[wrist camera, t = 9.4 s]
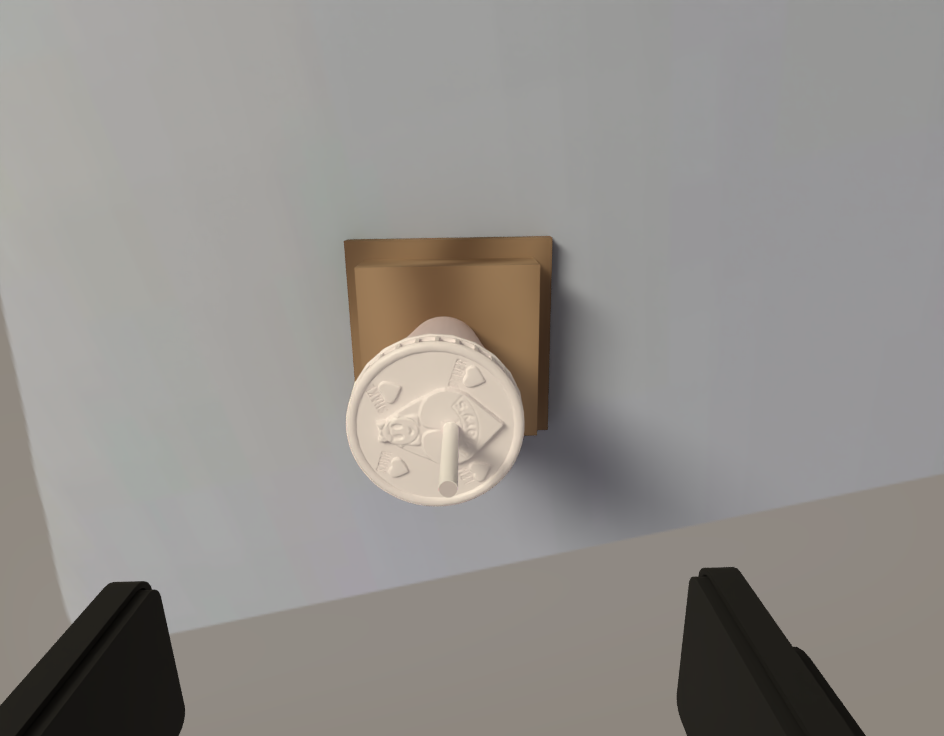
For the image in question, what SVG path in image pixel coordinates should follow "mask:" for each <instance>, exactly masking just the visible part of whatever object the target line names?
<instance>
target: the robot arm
mask: <svg viewBox="0 0 944 736" xmlns="http://www.w3.org/2000/svg"><path fill="white" fill-rule="evenodd" d="M677 706H678V711H679V715H680V718H681V721H682V723H683V726H684V728H685V731H686V734H687V736H866V735H865V734H864V733H863V731H862V730H861V729H860V727H859V726H858V724H857V723H856V721H855V720H854V719H853V717H852V716H851V715H850V713H849V712H848V710H847V709H846V708H845V706H844V705H843V703H842V702H841V701H840V699H839V698H838V697H837V695H836V694H835V692H834V691H833V689H832V688H831V687H830V685H829V684H828V683H827V681H826V680H825V678H824V677H823V676H822V674H821V673H820V672H819V670H818V669H817V667H816V666H815V664H814V663H813V662H812V660H811V659H810V658H809V657H808V656H807V654H806V653H805V652H804V651H803V650H801V649H799V648H798V647H792V645H791V644H790V642H789V641H788V639H787V638H786V637H785V635H784V634H783V633H782V631H781V630H780V628H779V627H778V625H777V624H776V623H775V621H774V619H773V618H772V617H771V615H770V614H769V612H768V611H767V610H766V608H765V607H764V605H763V604H762V602H761V601H760V599H759V598H758V597H757V595H756V594H755V592H754V591H753V590H752V588H751V587H750V585H749V584H748V582H747V581H746V580H745V578H744V577H743V575H742V574H741V572H740V571H739V570H738V569H737V568H734V567H723V568H702V569H701V570H700V572H699V576H698V577H691V579H690V581H689V589H688V598H687V606H686V616H685V624H684V634H683V643H682V652H681V661H680V670H679V679H678V688H677ZM184 717H185V705H184V701H183V696H182V692H181V687H180V683H179V678H178V673H177V669H176V665H175V659H174V655H173V650H172V646H171V642H170V636H169V632H168V627H167V623H166V618H165V613H164V609H163V604H162V600H161V596H160V593H159V592H158V591H157V590H152V588H151V586H150V585H149V583H148V582H144V581H136V582H112V583H109V584H108V585H107V586H106V587H104V588H103V590H102V591H101V592H100V593H99V594H98V595H97V596H96V598H95V599H94V600H93V601H92V602H91V603H90V604H89V606H88V607H87V608H86V609H85V610H84V611H83V612H82V613H81V615H80V616H79V617H78V618H77V619H76V620H75V621H74V623H73V624H72V625H71V626H70V627H69V628H68V629H67V630H66V632H65V633H64V634H63V635H62V636H61V637H60V638H59V640H58V641H57V642H56V643H55V644H54V645H53V646H52V647H51V649H50V650H49V651H48V652H47V653H46V654H45V655H44V657H43V658H42V659H41V660H40V661H39V662H38V663H37V665H36V666H35V667H34V668H33V669H32V670H31V671H30V672H29V674H28V675H27V676H26V677H25V678H24V679H23V680H22V682H21V683H20V684H19V685H18V686H17V687H16V688H15V690H14V691H13V692H12V693H11V694H10V695H9V696H8V698H7V699H6V700H5V701H4V702H3V703H2V704H1V705H0V736H179V733H180V731H181V729H182V726H183V723H184Z"/></svg>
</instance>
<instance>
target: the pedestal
mask: <svg viewBox="0 0 944 736" xmlns="http://www.w3.org/2000/svg"><path fill="white" fill-rule="evenodd" d="M344 249H345V261H346V274H347V287H348V299H349V312H350V325H351V337H352V350H353V363H354V375H355V381H356V380H357V378H358V377H359V375H360V373H361V372H362V370H363V369H364V367H365V366H366V364H367V363H368V362H369V361H370V360H371V359H373V358H374V357H375V356H376V355H377V354H378V353H379V352H381V351H382V350H383V349H384V348H386V347H388V346H390V345H392V344H394V343H396V342H398V341H400V340H402V339H404V338H407V337H408V336H409V335H410V334H411V333H412V332H413V331H414V330H415V329H416V328H417V327H418V326H419V325H421V324H422V323H423V322H425V321H427V320H429V319H432V318H435V317H452V318H456V319H458V320H460V321H462V322H464V323H465V324H467V325H468V326H469V327H470V328H471V329H472V330H473V331H474V333H475V334H476V336H477V337H478V339H479V340H480V342H481V343H482V345H483V346H484V348H485V349H486V350H488V351H489V352H491V353H493V354H494V355H495V356H496V357H497V358H498V359H499V360H500V361H501V362H502V363H503V364H504V366H505V367H506V368H507V369H508V370H509V371H510V372H511V374H512V376H513V378H514V380H515V382H516V385H517V387H518V389H519V391H520V394H521V399H522V405H523V410H524V436H529V435H537V430H548V393H549V354H550V314H551V274H552V237H550V236H529V237H470V238H411V239H351V240H346V241H344Z"/></svg>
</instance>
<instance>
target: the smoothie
mask: <svg viewBox="0 0 944 736" xmlns="http://www.w3.org/2000/svg"><path fill="white" fill-rule="evenodd" d="M346 431H347V438H348V442H349V446H350V449H351V451H352V454H353V456H354V458H355V460H356V462H357V463H358V465H359V466H360V468H361V469H362V471H363V472H364V473H365V474H366V476H367V477H368V478H369V479H370V480H371V481H372V482H373V483H375V484H376V485H377V486H378V487H379V488H381V489H382V490H384V491H385V492H387V493H389V494H390V495H392V496H394V497H396V498H399V499H401V500H404V501H407V502H410V503H414V504H418V505H425V506H448V505H454V504H459V503H463V502H466V501H469V500H471V499H474V498H476V497H478V496H480V495H482V494H484V493H485V492H487V491H489V490H490V489H491V488H493V487H494V486H495V485H496V484H498V483H499V482H500V481H501V480H502V479H503V478H504V477H505V475H506V474H507V473H508V472H509V470H510V469H511V468H512V466H513V464H514V463H515V461H516V459H517V457H518V454H519V452H520V449H521V446H522V442H523V437H524V410H523V405H522V399H521V394H520V391H519V389H518V387H517V385H516V382H515V380H514V378H513V376H512V374H511V372H510V371H509V370H508V369H507V368H506V367H505V366H504V364H503V363H502V362H501V361H500V360H499V359H498V358H497V357H496V356H495V355H494V354H493V353H491V352H489V351H488V350H486V349H485V348H484V346H483V345H482V343H481V342H480V340H479V339H478V337H477V336H476V334H475V333H474V331H473V330H472V329H471V328H470V327H469V326H468V325H467V324H465V323H464V322H462V321H460V320H458V319H456V318H452V317H435V318H432V319H429V320H427V321H425V322H423V323H422V324H421V325H419V326H418V327H417V328H416V329H415V330H414V331H413V332H412V333H411V334H410V335H409V336H408V337H407V338H404V339H402V340H400V341H398V342H396V343H394V344H392V345H390V346H388V347H386V348H384V349H383V350H382V351H381V352H379V353H378V354H377V355H376V356H375V357H374V358H373V359H371V360H370V361H369V362H368V363H367V364H366V366H365V367H364V369H363V370H362V372H361V373H360V375H359V377H358V378H357V380H356V381H355V384H354V387H353V390H352V394H351V397H350V400H349V404H348V408H347V414H346Z"/></svg>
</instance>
